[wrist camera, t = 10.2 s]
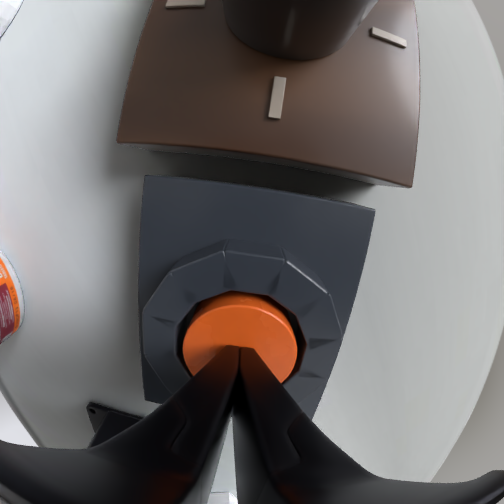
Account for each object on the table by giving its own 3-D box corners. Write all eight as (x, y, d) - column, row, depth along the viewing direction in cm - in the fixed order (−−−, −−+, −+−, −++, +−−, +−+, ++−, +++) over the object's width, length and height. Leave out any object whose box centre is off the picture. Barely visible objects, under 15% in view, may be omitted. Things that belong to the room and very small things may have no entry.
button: (280, 372, 11) (284, 401, 9) (190, 360, 10) (181, 388, 9) (300, 290, 10) (309, 313, 8) (196, 276, 10) (184, 296, 8)
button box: (304, 390, 14) (316, 445, 10) (157, 371, 14) (134, 423, 10) (353, 203, 11) (397, 216, 8) (164, 175, 11) (124, 175, 7)
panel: (377, 185, 11) (415, 189, 8) (146, 150, 11) (112, 143, 8) (386, -5, 8) (410, -33, 5) (196, -36, 8) (185, -72, 5)
